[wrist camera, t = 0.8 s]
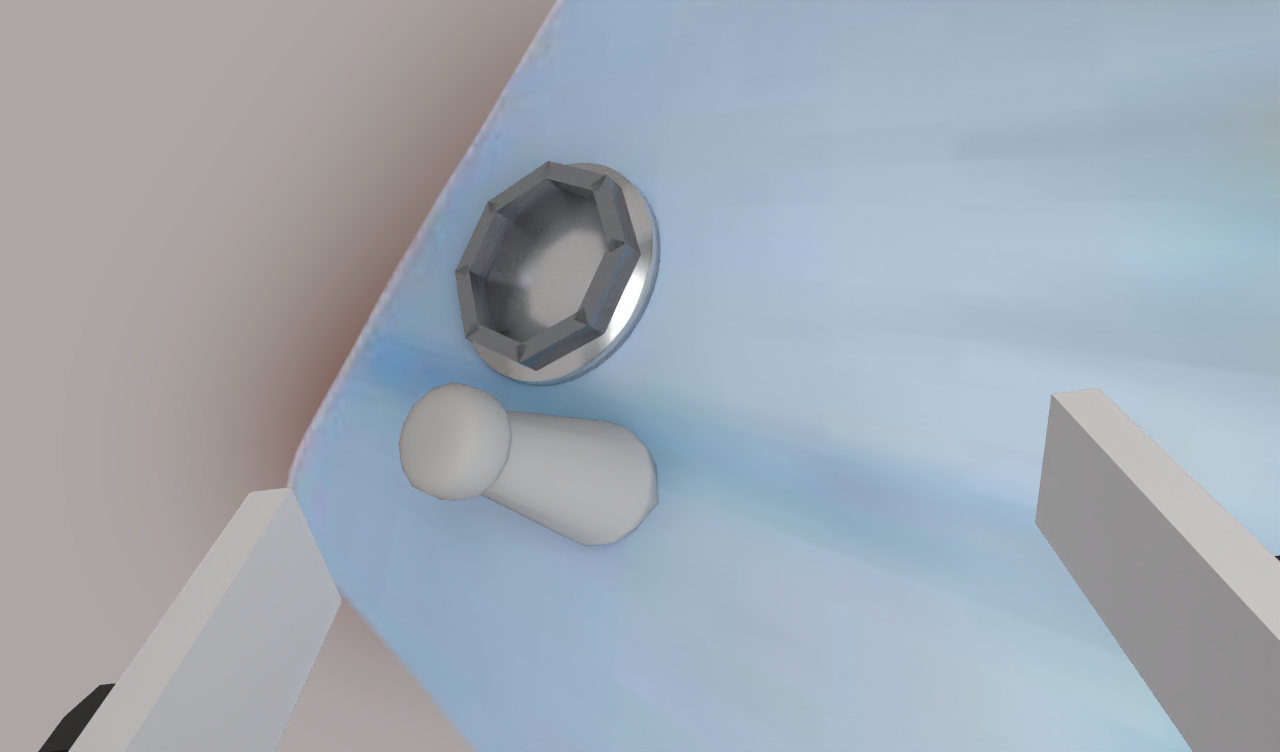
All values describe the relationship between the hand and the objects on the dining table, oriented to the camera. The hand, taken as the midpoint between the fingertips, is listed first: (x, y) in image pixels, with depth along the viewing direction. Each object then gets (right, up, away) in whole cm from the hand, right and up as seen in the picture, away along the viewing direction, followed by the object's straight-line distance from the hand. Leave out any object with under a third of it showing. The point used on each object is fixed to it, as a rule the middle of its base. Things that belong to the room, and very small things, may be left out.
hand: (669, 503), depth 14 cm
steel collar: (-5, +8, +31) cm, 32 cm away
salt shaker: (-1, -3, +25) cm, 25 cm away
